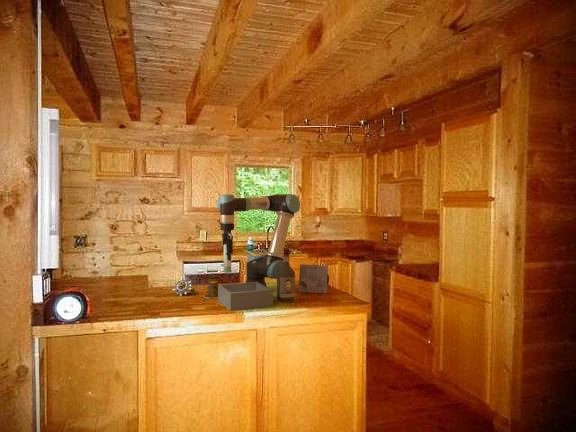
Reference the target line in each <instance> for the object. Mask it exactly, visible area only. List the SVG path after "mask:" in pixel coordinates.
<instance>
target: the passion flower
mask: <svg viewBox="0 0 576 432" xmlns="http://www.w3.org/2000/svg"><path fill="white" fill-rule="evenodd" d="M191 283H192V280H188V281H187V279H186V278H184V277H183V279H181V280H178V281H176V283H175V286H174V288H172V289H171V291H172V292H175V291H176V295H177V296H178V295H179V297H182V296H183V295H187V294H188V291H190V293H191V295H193V296H194V295H195V293H196V290H195V286H194V283H192V284H191Z"/></svg>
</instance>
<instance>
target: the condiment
mask: <svg viewBox="0 0 576 432" xmlns="http://www.w3.org/2000/svg"><path fill="white" fill-rule="evenodd" d="M207 280H208V281H207V294H206V295H202V297H203V298H205V299H213V298H218V285H219V281H218V276H217V275H210V276H208V279H207Z"/></svg>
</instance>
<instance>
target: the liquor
mask: <svg viewBox="0 0 576 432" xmlns="http://www.w3.org/2000/svg"><path fill="white" fill-rule="evenodd" d="M282 257H283V266H282V267H281V268H280V269H279V270H278V272H277V279H276V299H277V301H278V302H279V301H280V302H279V303H284V302H285V303H293V302H295V301H296V299H295V298H296V297H295V294H296V293H295V292H296V290H295V289H296V273H295V271H294V270H293V268H292V267H291V266H290V248H284V249H283V253H282ZM292 301H293V302H292Z"/></svg>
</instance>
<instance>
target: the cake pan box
mask: <svg viewBox="0 0 576 432" xmlns="http://www.w3.org/2000/svg"><path fill="white" fill-rule="evenodd" d="M298 275H299V276H298V292H299V293H307V292H308V293H310V294H327V293H328V285H329V281H330V277H329V265H322V264H305V263H301V264H299V273H298Z"/></svg>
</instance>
